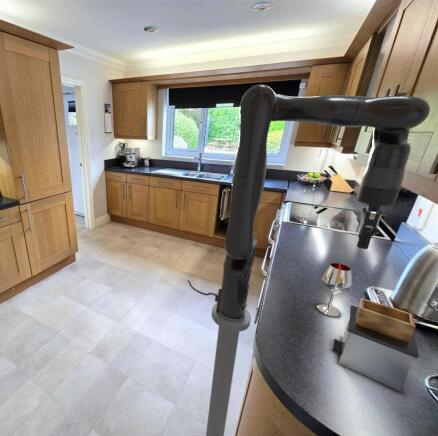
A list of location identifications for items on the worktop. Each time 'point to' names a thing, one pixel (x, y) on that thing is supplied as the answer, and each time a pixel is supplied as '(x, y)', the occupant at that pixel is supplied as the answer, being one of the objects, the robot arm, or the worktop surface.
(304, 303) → the worktop surface
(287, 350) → the worktop surface
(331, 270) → the wineglass
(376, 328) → the open wooden box
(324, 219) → the worktop surface
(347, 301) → the worktop surface
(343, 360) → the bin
